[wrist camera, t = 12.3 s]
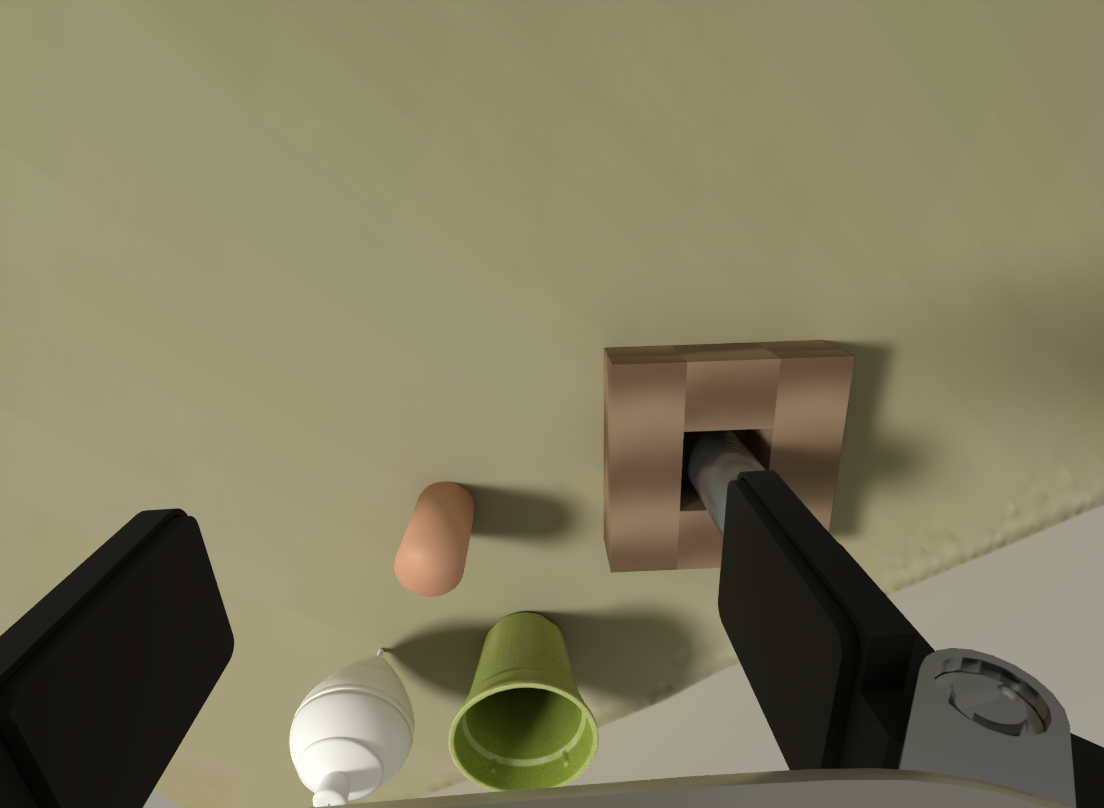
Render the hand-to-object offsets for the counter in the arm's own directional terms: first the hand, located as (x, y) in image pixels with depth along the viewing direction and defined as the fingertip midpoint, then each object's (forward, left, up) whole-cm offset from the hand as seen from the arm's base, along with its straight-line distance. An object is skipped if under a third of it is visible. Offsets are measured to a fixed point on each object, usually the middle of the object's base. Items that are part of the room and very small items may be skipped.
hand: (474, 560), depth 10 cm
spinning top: (+26, -12, -27) cm, 39 cm away
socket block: (+10, +12, -27) cm, 31 cm away
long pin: (+10, +12, -27) cm, 31 cm away
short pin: (+14, -6, -27) cm, 31 cm away
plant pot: (+26, -1, -27) cm, 38 cm away
